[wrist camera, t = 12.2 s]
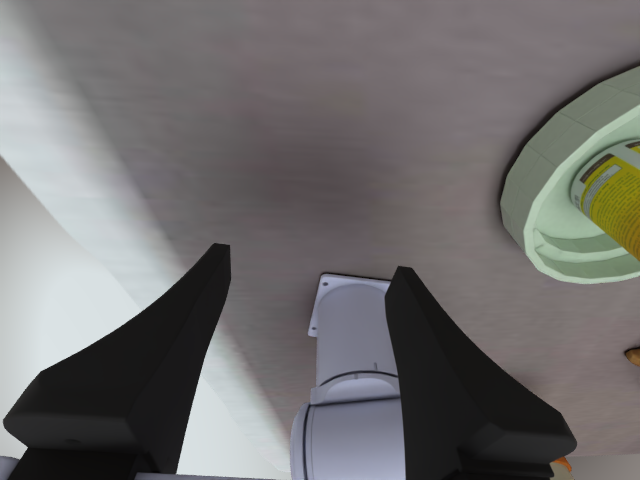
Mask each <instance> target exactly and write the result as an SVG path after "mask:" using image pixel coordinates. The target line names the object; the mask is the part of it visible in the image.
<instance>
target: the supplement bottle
mask: <svg viewBox="0 0 640 480" xmlns="http://www.w3.org/2000/svg"><path fill="white" fill-rule="evenodd" d="M571 200H572V202H573V204H574V206H575V207H576V208H577V209H578V210H579V211H580V212H581V213H583V214H584V215H585V216H586V217H587V218H588V219H590V220H591V221H592V222H593V223H594V224H596V225H597V226H598V227H599V228H600V229H602V230H603V231H604V232H605V233H606V234H607V235H609V236H610V237H611V238H612V239H613V240H615V241H616V242H617V243H618V244H619V245H620V246H622V247H623V248H624V249H625V250H626V251H628V252H629V253H630V254H631V255H632V256H634V257H635V258H636V259H637V260H638V261H640V139H636V140H630V141H626V142H622V143H619V144H617V145H614V146H612V147H610V148H608V149H606V150H604V151H603V152H601V153H599V154H598V155H597V156H595V157H594V158H593V159H591V160H590V161H589V162H588V163H587V164H586V165H585V166H584V167H583V168H582V169H581V170H580V172H579V173H578V174H577V176H576V178H575V179H574V182H573V184H572V188H571Z"/></svg>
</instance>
